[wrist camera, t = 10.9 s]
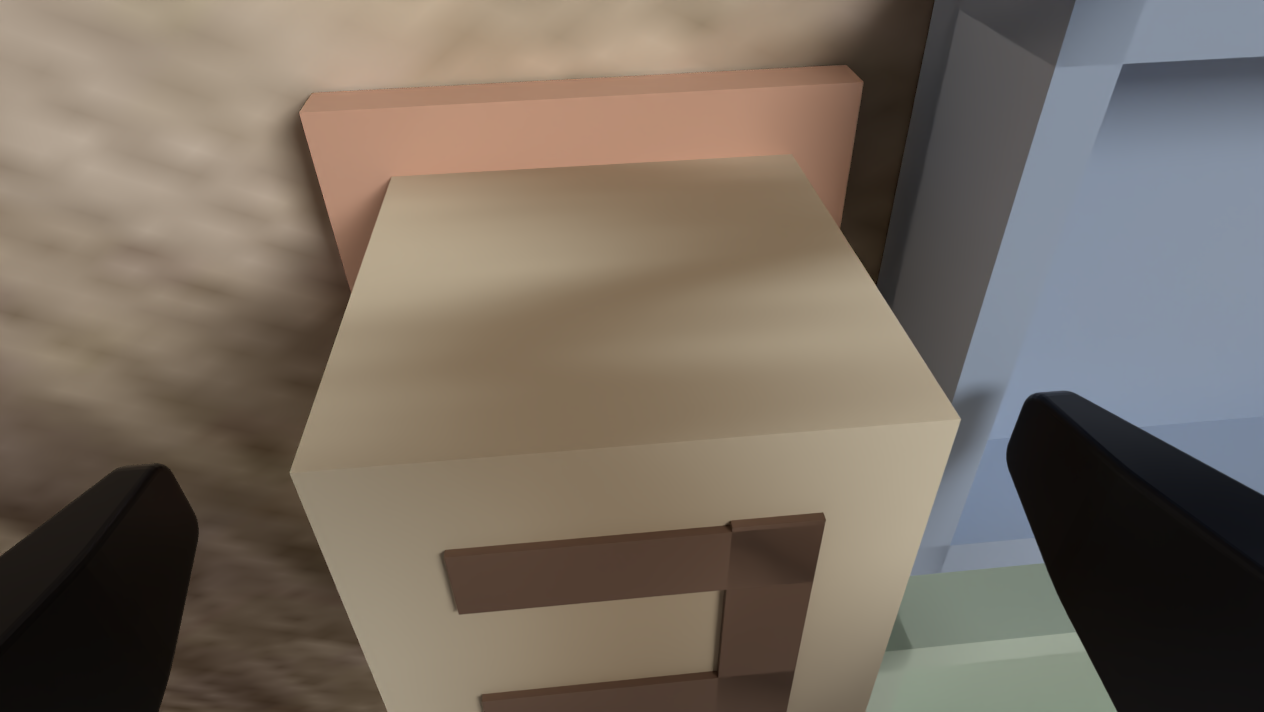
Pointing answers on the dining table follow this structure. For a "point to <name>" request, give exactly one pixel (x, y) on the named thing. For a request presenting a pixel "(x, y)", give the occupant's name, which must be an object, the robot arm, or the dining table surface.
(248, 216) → the dining table surface
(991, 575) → the green tray
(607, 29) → the dining table surface
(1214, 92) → the slate tray
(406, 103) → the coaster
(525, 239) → the letter cube
